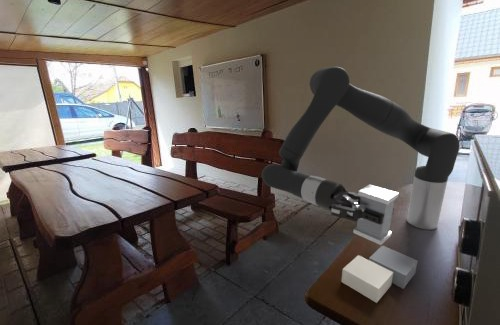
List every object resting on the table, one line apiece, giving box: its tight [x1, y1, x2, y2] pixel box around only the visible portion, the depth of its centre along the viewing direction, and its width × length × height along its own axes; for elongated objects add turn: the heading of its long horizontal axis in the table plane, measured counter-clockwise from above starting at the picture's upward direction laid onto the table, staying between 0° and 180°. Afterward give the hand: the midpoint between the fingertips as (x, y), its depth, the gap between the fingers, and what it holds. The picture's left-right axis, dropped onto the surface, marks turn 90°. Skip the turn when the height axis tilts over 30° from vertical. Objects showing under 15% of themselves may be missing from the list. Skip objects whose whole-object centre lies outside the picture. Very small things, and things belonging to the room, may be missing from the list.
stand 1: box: [341, 254, 393, 304], centre depth 66 cm, size 8×9×4 cm
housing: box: [353, 184, 400, 246], centre depth 60 cm, size 6×6×11 cm
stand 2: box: [368, 244, 419, 290], centre depth 69 cm, size 8×9×4 cm
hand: (387, 215), depth 58 cm, fingers closed on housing, 4 cm apart
